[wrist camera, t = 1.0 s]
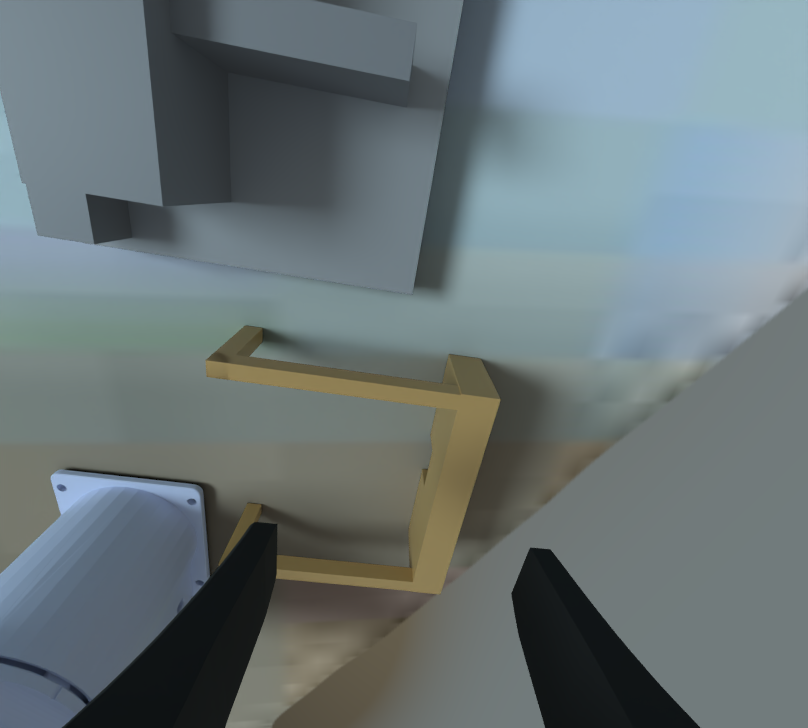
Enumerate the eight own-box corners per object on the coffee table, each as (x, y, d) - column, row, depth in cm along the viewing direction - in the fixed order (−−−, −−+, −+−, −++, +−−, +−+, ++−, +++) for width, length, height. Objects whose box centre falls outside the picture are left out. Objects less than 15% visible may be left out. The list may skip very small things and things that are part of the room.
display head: (489, -173, 11) (575, -516, 6) (411, 286, 17) (417, 331, 12) (27, -294, 10) (-399, -851, 5) (110, 238, 16) (-40, 262, 10)
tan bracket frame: (480, 358, 19) (500, 399, 15) (433, 531, 23) (440, 594, 20) (245, 324, 18) (205, 358, 14) (247, 512, 23) (219, 573, 19)
